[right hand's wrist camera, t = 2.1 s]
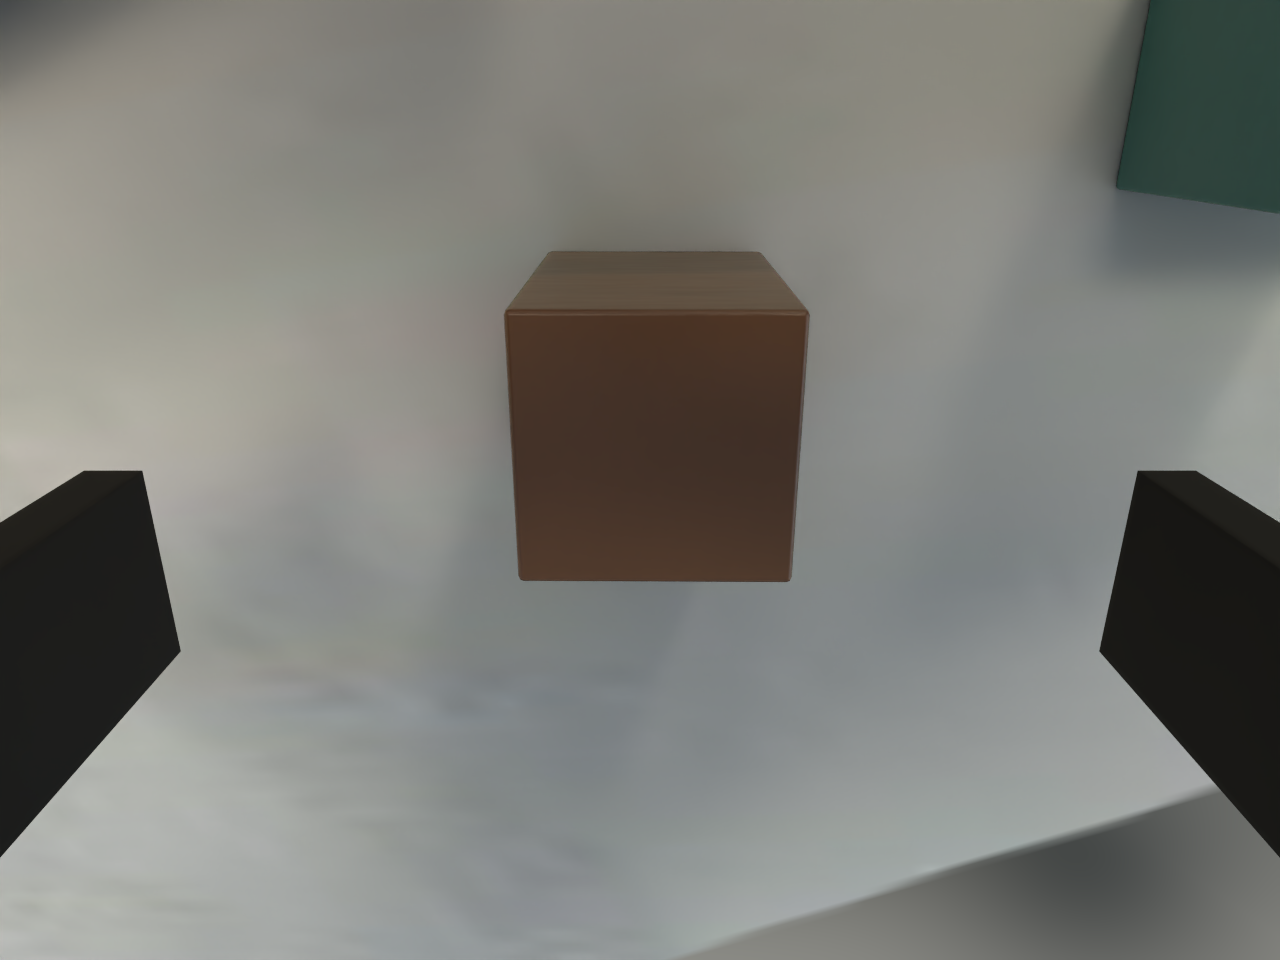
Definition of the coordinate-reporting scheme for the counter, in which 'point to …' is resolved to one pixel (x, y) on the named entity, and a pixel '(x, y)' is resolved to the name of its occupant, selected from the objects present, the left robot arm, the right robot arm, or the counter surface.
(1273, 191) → the teal block
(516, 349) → the walnut block
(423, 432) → the counter surface
